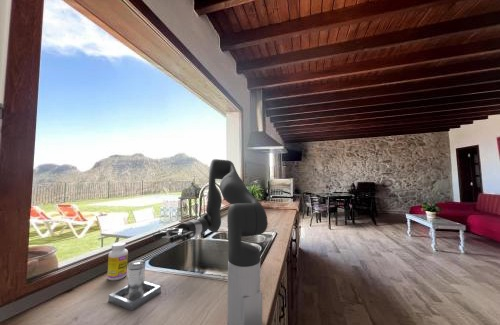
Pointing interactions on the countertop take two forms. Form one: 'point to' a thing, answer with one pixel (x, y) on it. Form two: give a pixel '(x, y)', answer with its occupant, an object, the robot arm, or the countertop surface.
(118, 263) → the supplement bottle
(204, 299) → the countertop surface
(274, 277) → the countertop surface
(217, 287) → the countertop surface
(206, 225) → the robot arm
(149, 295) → the collar
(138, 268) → the lidded metal canister
